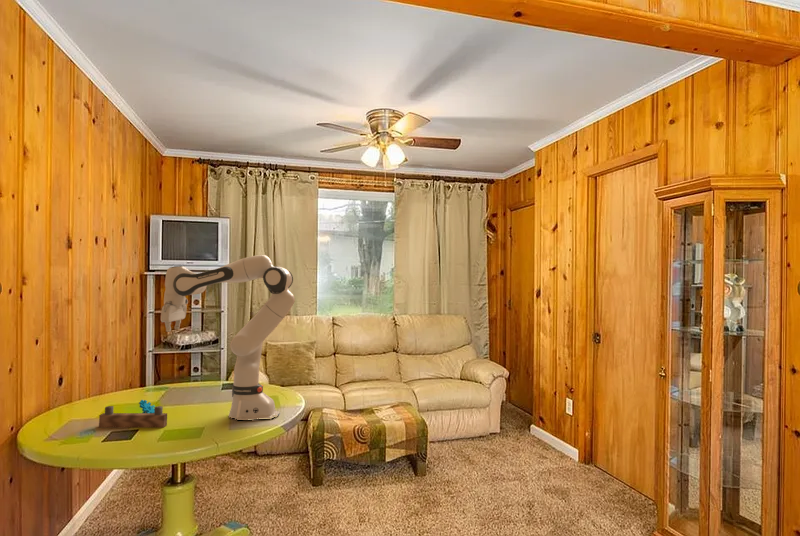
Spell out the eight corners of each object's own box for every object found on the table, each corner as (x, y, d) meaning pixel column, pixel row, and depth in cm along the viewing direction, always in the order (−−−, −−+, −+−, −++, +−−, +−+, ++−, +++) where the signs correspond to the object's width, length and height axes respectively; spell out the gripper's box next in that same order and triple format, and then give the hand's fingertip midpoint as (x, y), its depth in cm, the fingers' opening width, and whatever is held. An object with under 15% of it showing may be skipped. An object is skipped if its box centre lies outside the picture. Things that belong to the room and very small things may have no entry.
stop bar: (166, 425, 197) (167, 406, 197) (163, 427, 194) (164, 408, 194) (103, 425, 195) (103, 406, 195) (98, 427, 192) (99, 408, 192)
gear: (152, 416, 203) (137, 400, 203) (141, 426, 202) (126, 409, 202) (163, 413, 213) (149, 397, 214) (153, 422, 213) (139, 406, 213)
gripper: (172, 302, 205) (170, 333, 205) (189, 300, 226) (187, 328, 225) (157, 301, 205) (155, 332, 204) (176, 299, 225) (174, 327, 225)
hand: (172, 330), depth 215 cm, fingers open, 8 cm apart
